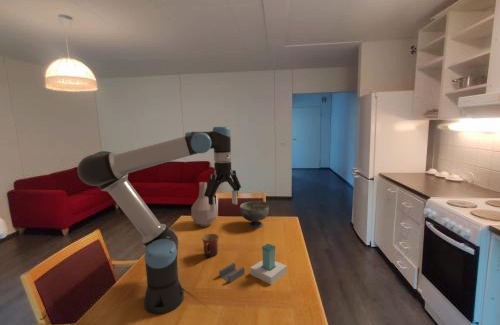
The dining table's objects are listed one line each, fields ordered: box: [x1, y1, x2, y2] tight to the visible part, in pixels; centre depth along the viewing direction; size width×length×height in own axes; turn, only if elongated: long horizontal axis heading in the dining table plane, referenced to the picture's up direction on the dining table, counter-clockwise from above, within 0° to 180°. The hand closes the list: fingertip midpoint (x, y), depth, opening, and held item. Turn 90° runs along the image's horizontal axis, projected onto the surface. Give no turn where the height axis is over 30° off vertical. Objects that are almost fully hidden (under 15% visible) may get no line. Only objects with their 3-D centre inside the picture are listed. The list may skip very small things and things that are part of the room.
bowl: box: [239, 200, 270, 229], centre depth 176 cm, size 20×19×15 cm
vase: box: [190, 181, 218, 227], centre depth 178 cm, size 18×18×30 cm
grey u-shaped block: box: [218, 262, 245, 284], centre depth 118 cm, size 9×7×4 cm
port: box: [249, 259, 288, 285], centre depth 119 cm, size 12×12×5 cm
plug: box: [261, 243, 276, 271], centre depth 118 cm, size 4×4×14 cm
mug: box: [201, 233, 219, 259], centre depth 136 cm, size 12×9×10 cm
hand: (224, 207), depth 117 cm, fingers open, 13 cm apart
